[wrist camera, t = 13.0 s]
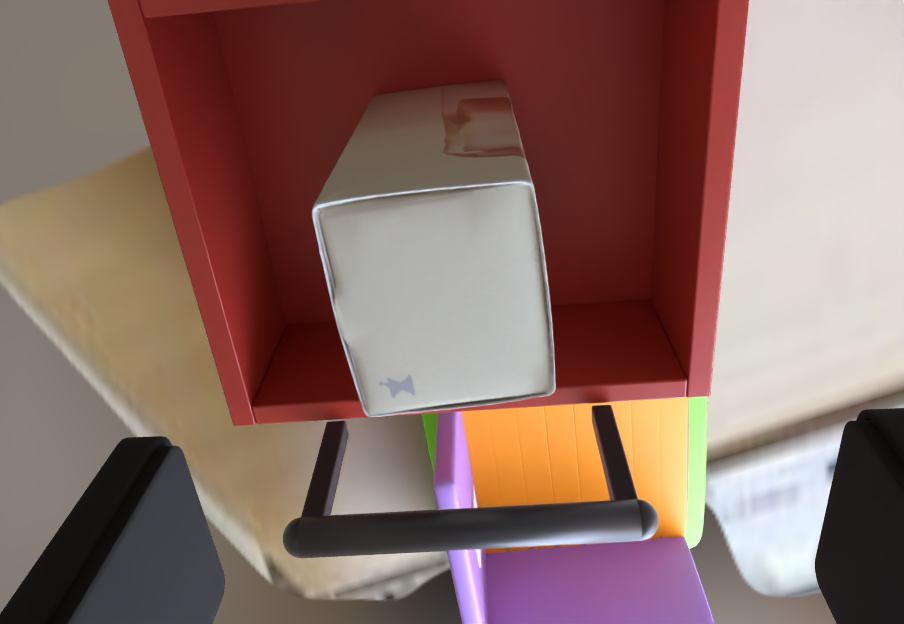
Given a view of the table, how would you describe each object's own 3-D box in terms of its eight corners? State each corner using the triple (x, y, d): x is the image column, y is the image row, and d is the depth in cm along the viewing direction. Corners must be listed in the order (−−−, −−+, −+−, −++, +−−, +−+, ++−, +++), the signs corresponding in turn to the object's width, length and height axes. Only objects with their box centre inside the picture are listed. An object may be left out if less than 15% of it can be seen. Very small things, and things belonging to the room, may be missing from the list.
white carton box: (527, 226, 24) (560, 409, 16) (398, 242, 25) (359, 429, 16) (511, 66, 22) (539, 175, 13) (367, 87, 22) (301, 206, 13)
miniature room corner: (453, 562, 36) (450, 693, 30) (411, 361, 30) (397, 473, 24) (700, 541, 35) (748, 672, 29) (706, 327, 29) (766, 436, 23)
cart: (671, -121, 22) (879, -146, 11) (651, 301, 29) (766, 549, 18) (202, -72, 23) (-51, -49, 12) (293, 326, 30) (188, 577, 19)
